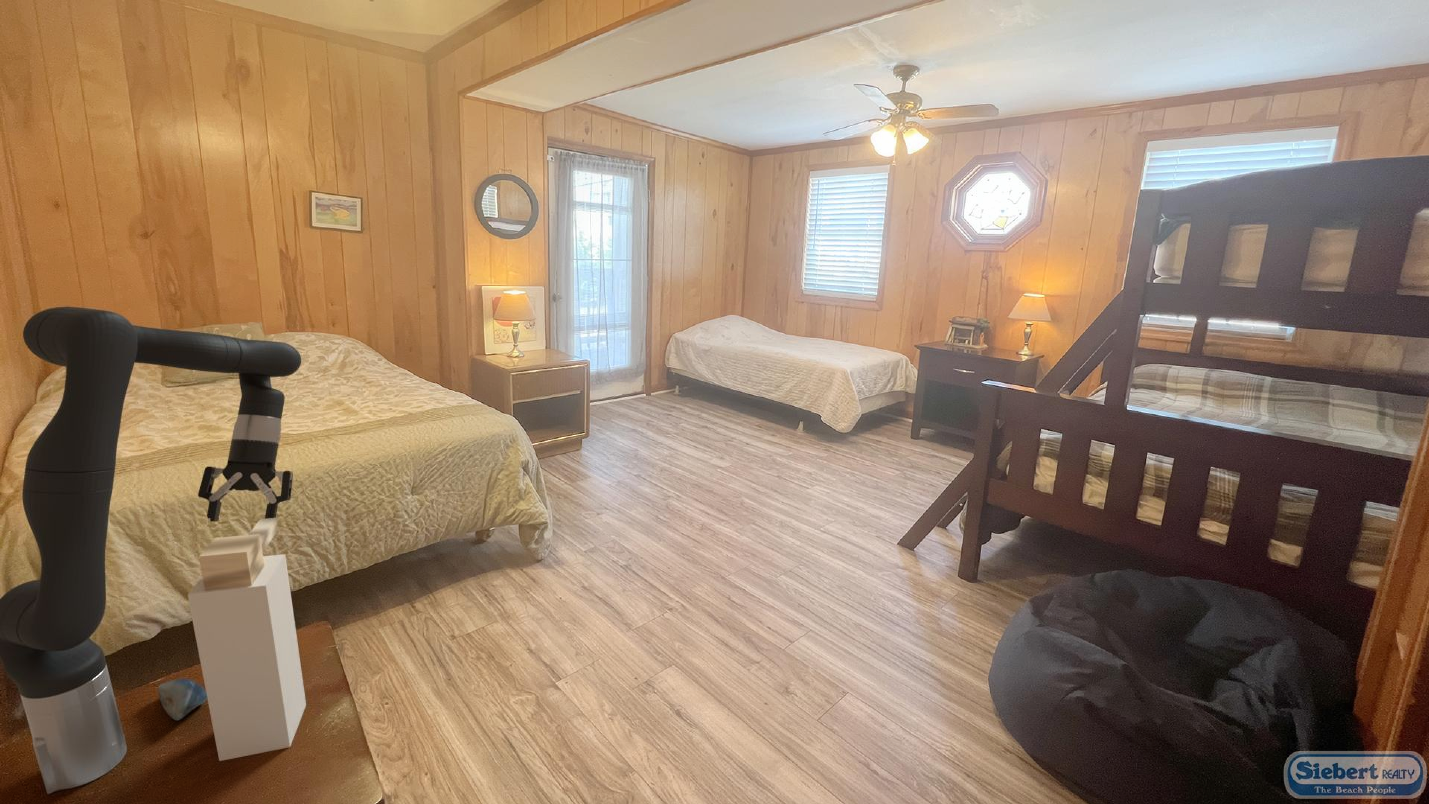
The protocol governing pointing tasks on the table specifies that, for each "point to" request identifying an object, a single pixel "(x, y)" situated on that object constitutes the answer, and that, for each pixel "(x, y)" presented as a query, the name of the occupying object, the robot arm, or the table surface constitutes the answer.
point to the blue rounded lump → (181, 697)
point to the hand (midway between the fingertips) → (241, 522)
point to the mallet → (236, 557)
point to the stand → (250, 661)
